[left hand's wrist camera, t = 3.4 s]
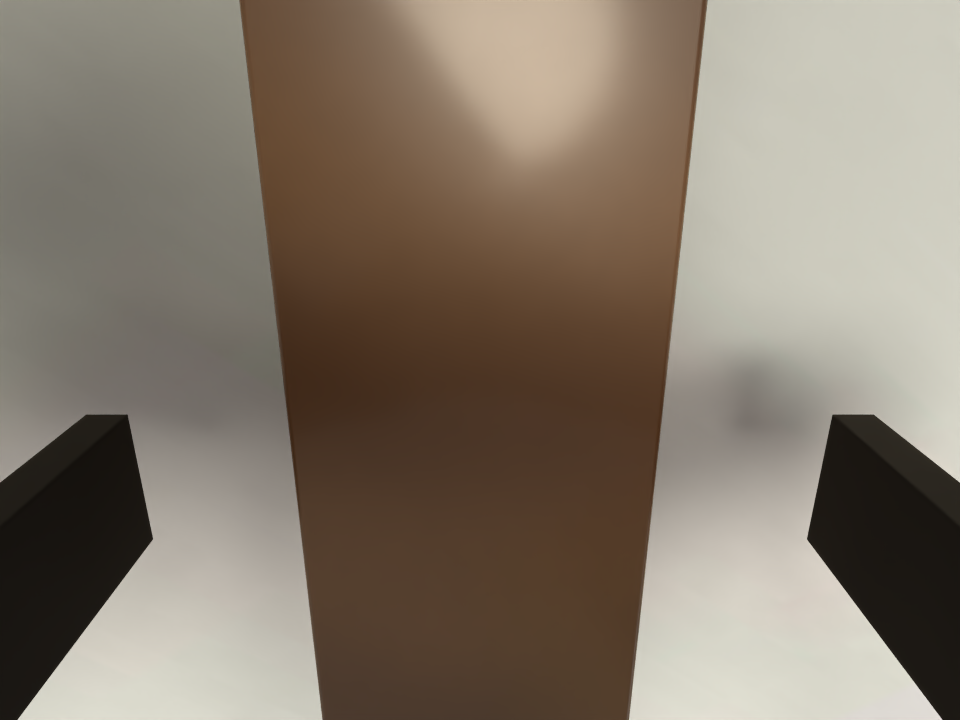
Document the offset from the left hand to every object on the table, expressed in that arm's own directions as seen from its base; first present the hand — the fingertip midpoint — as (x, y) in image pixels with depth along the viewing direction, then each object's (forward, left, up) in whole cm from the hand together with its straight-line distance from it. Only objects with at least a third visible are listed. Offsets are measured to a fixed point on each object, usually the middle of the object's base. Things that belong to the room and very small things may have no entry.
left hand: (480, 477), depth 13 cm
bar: (-3, +28, -4) cm, 28 cm away
